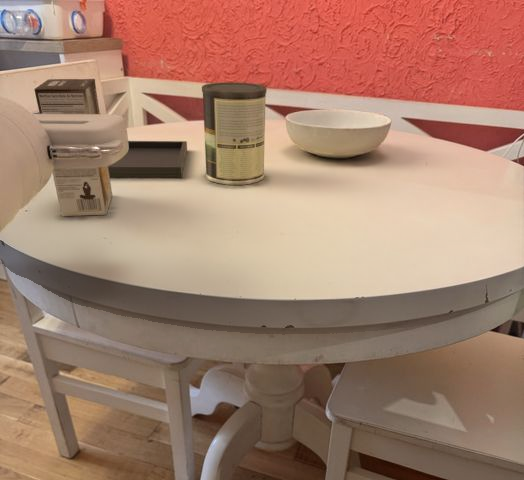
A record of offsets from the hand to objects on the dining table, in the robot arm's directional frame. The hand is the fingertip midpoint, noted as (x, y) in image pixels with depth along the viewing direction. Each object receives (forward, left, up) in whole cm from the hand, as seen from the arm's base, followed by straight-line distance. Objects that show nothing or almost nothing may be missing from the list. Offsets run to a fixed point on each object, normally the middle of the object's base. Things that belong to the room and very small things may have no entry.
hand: (42, 122), depth 55 cm
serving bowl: (+43, +45, -14) cm, 64 cm away
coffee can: (+22, +28, -14) cm, 38 cm away
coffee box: (0, +13, -14) cm, 19 cm away
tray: (+4, +37, -14) cm, 40 cm away
